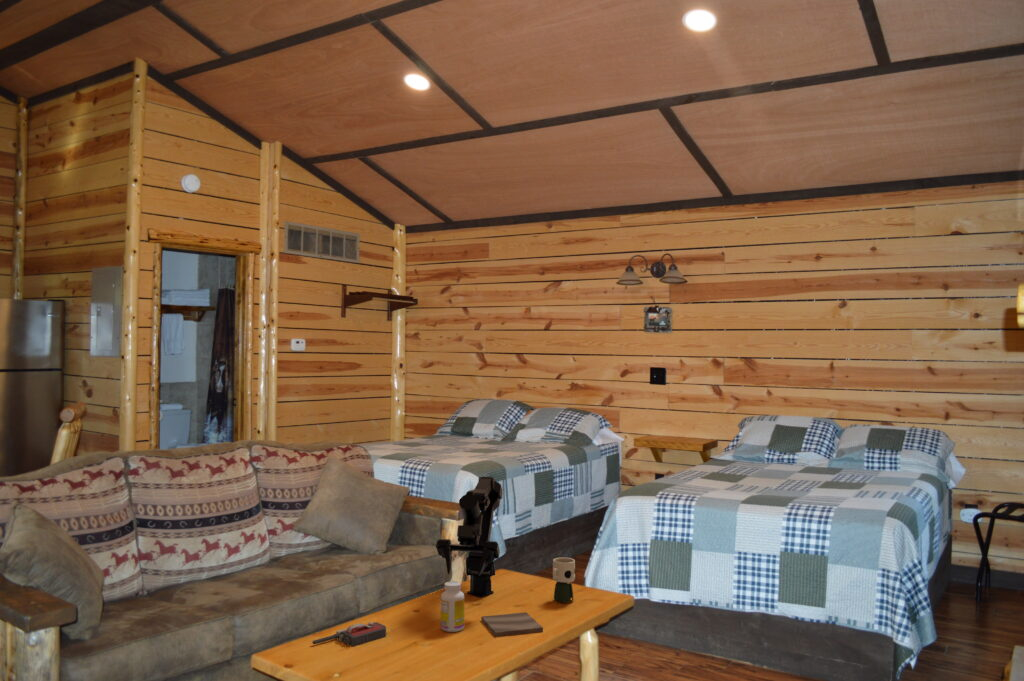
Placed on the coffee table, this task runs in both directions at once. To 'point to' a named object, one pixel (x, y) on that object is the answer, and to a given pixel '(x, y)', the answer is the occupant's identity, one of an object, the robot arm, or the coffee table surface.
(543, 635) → the coffee table surface
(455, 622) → the supplement bottle
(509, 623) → the walnut board
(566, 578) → the character mug
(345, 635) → the walkie-talkie
